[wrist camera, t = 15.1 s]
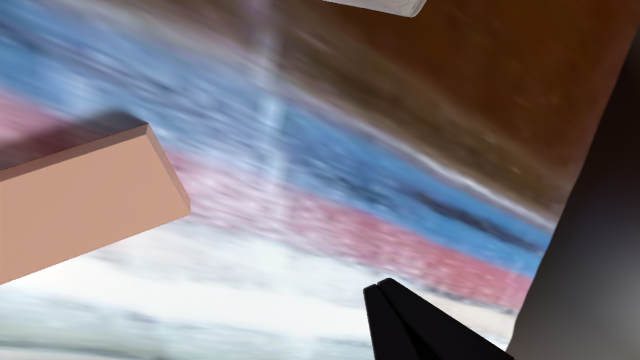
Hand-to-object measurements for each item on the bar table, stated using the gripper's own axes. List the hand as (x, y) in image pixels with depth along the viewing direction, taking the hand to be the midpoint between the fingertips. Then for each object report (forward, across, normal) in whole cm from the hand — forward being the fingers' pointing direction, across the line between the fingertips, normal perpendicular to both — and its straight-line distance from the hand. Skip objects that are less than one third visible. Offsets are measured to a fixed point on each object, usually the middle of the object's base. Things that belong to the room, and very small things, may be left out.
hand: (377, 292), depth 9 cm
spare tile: (+12, +6, 0) cm, 13 cm away
